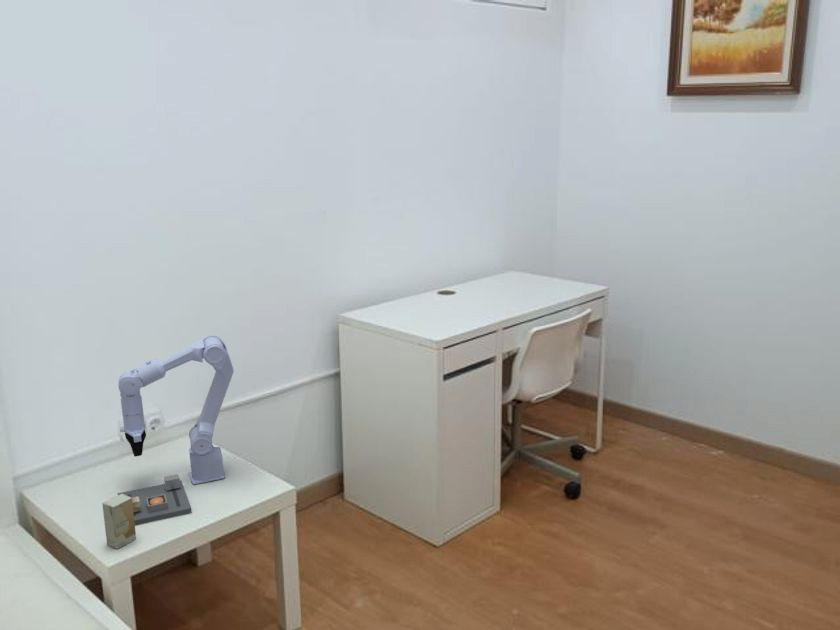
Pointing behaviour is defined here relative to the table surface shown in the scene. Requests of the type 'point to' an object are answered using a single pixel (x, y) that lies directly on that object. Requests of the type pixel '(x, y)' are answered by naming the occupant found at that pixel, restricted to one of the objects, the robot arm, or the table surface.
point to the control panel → (172, 505)
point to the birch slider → (136, 504)
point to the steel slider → (172, 482)
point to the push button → (156, 501)
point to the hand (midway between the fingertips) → (137, 455)
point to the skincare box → (119, 521)
